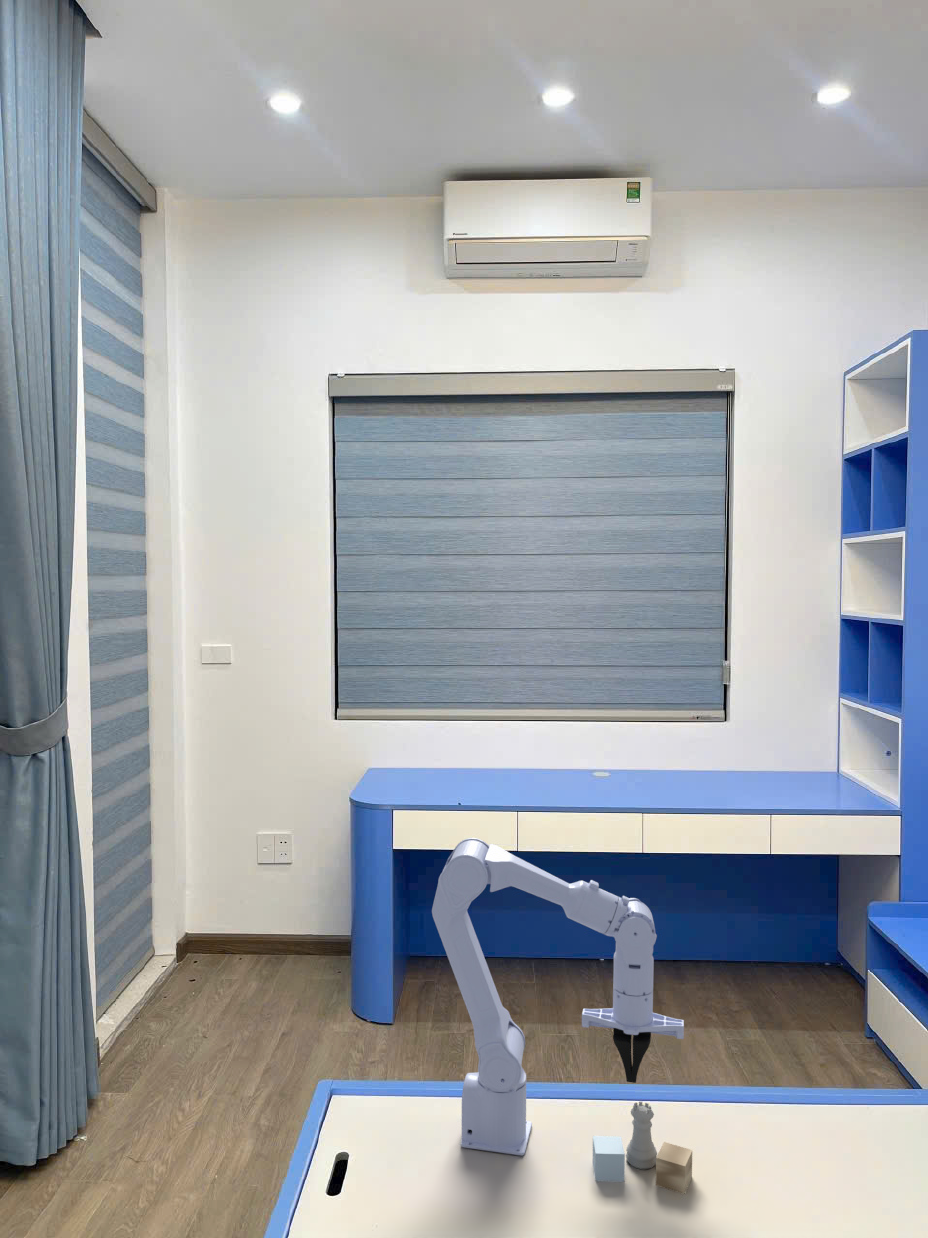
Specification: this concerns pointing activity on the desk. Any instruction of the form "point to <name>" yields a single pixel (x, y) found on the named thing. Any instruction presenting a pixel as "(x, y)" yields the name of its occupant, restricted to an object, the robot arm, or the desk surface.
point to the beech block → (674, 1167)
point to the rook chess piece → (641, 1138)
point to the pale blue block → (608, 1158)
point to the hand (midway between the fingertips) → (631, 1079)
